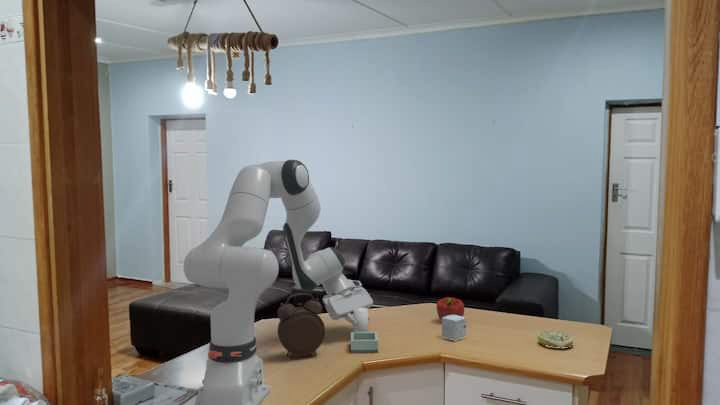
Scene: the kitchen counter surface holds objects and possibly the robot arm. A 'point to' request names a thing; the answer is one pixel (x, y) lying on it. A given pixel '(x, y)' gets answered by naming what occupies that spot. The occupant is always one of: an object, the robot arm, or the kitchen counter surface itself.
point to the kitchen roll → (361, 319)
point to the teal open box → (364, 342)
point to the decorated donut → (555, 339)
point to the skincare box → (453, 327)
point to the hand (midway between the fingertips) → (362, 322)
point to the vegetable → (450, 307)
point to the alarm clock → (301, 326)
